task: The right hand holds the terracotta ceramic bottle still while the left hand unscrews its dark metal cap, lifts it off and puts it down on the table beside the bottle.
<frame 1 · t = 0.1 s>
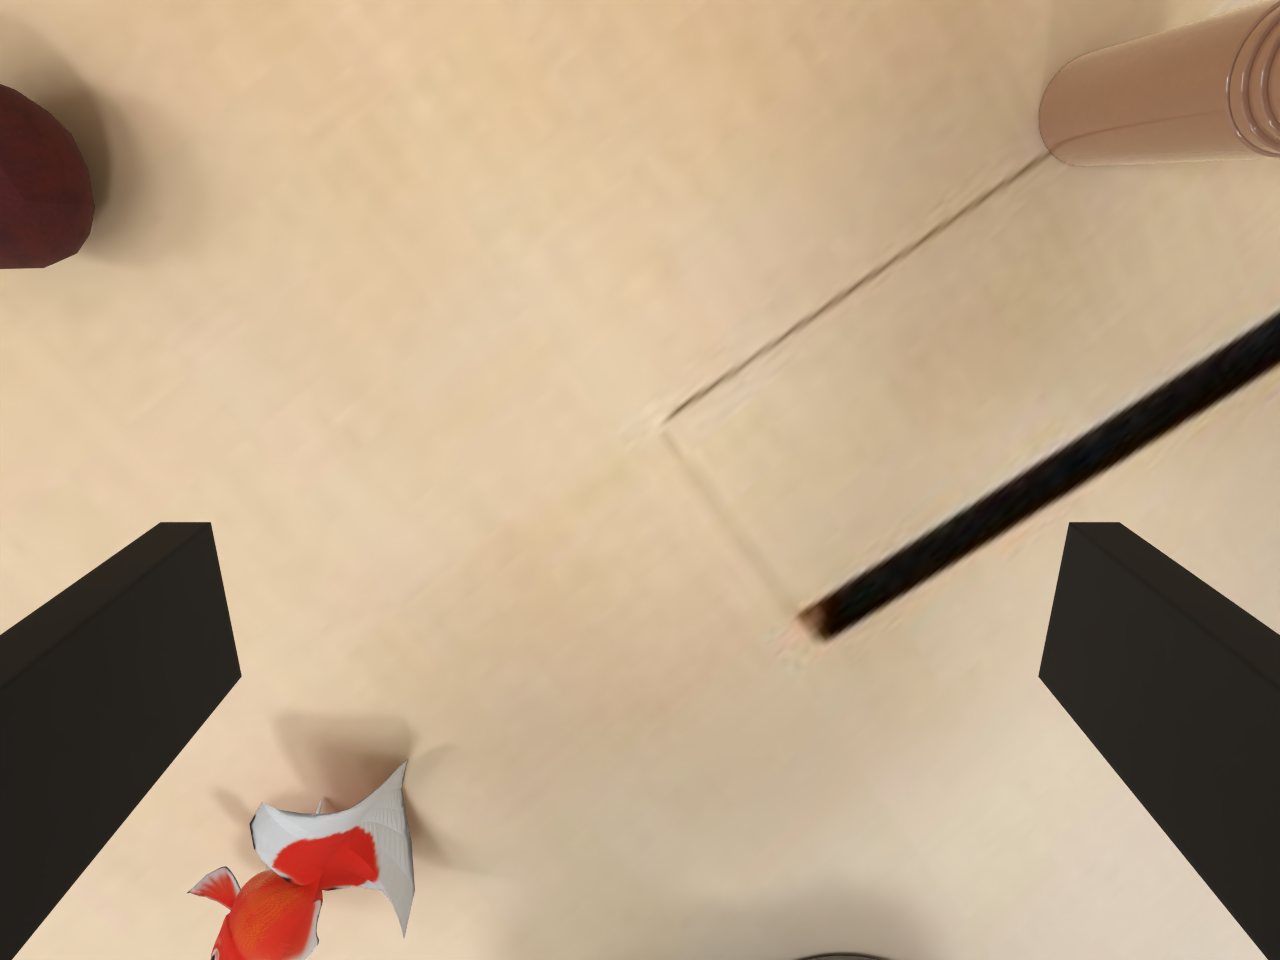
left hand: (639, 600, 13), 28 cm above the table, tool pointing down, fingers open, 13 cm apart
dark red round piece: (50, 179, 37), on the table
bottle: (1091, 110, 36), on the table
fish: (335, 815, 49), on the table
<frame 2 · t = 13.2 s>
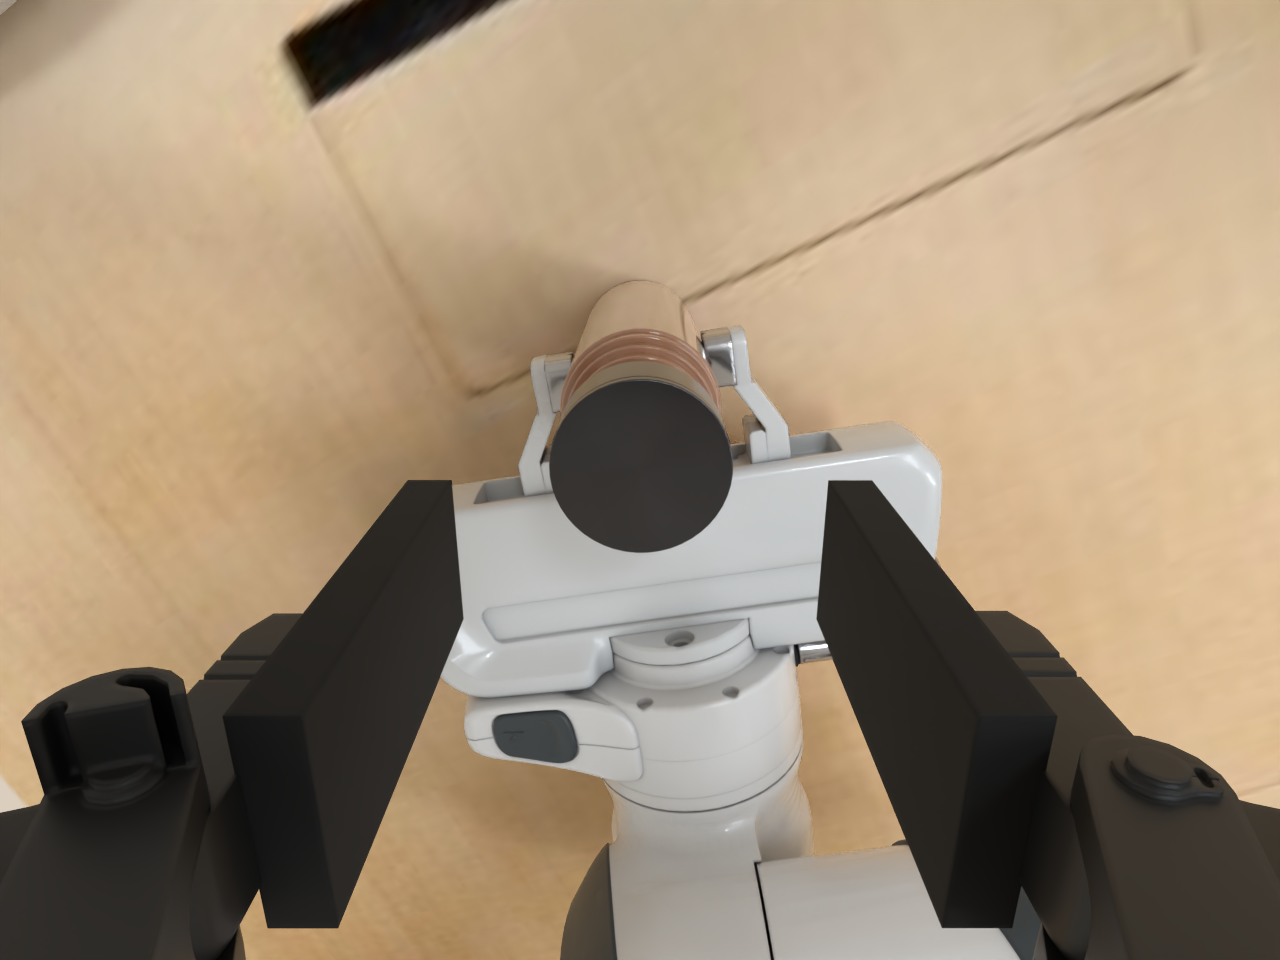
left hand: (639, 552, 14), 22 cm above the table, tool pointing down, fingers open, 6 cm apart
right hand: (635, 343, 28), fingers closed on bottle, 5 cm apart
cap: (641, 465, 19), point 17 cm above the table, screwed on, not yet turned
bottle: (640, 335, 35), on the table, touching right hand
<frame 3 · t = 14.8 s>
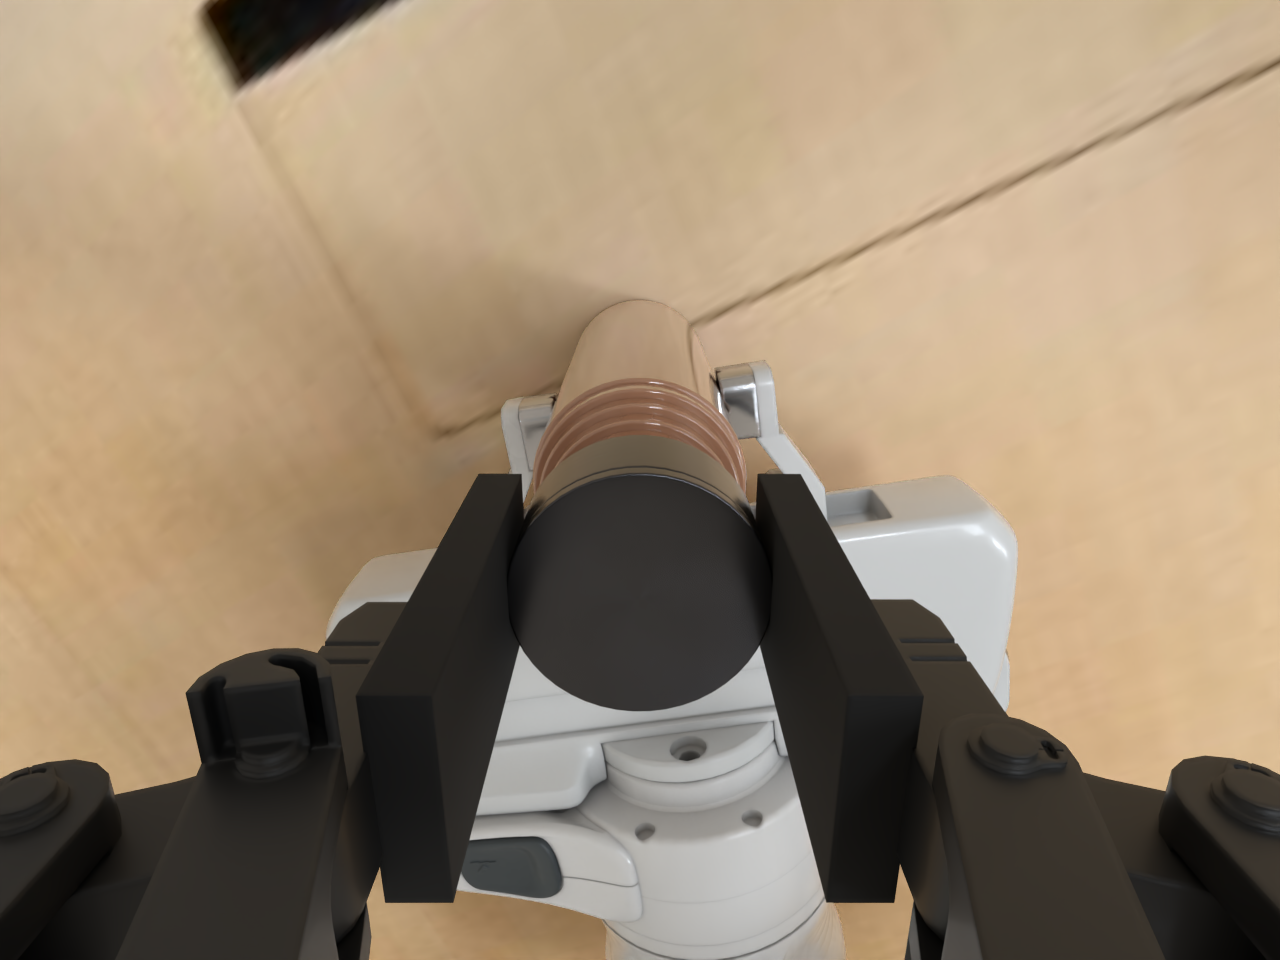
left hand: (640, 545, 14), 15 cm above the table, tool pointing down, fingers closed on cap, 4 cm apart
right hand: (633, 383, 22), fingers closed on bottle, 5 cm apart
cap: (639, 590, 13), point 17 cm above the table, screwed on, not yet turned, touching left hand
bottle: (639, 365, 29), on the table, touching right hand
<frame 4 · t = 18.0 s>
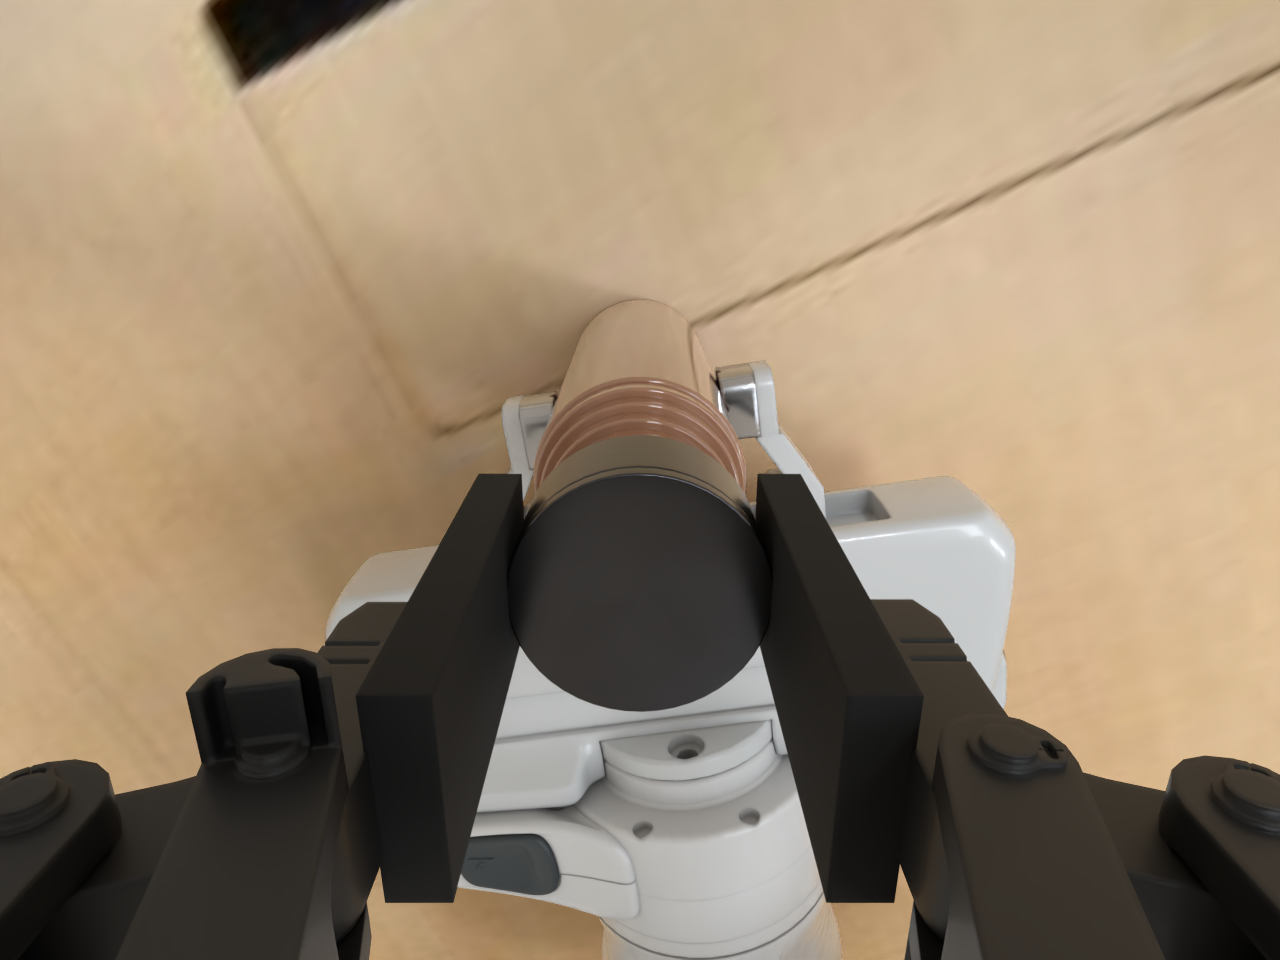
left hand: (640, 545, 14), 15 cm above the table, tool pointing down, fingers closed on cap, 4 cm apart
right hand: (633, 383, 23), fingers closed on bottle, 5 cm apart
cap: (639, 590, 13), point 17 cm above the table, turned 94° so far, risen 0.1 cm, still on its thread, touching left hand
bottle: (639, 364, 29), on the table, touching right hand
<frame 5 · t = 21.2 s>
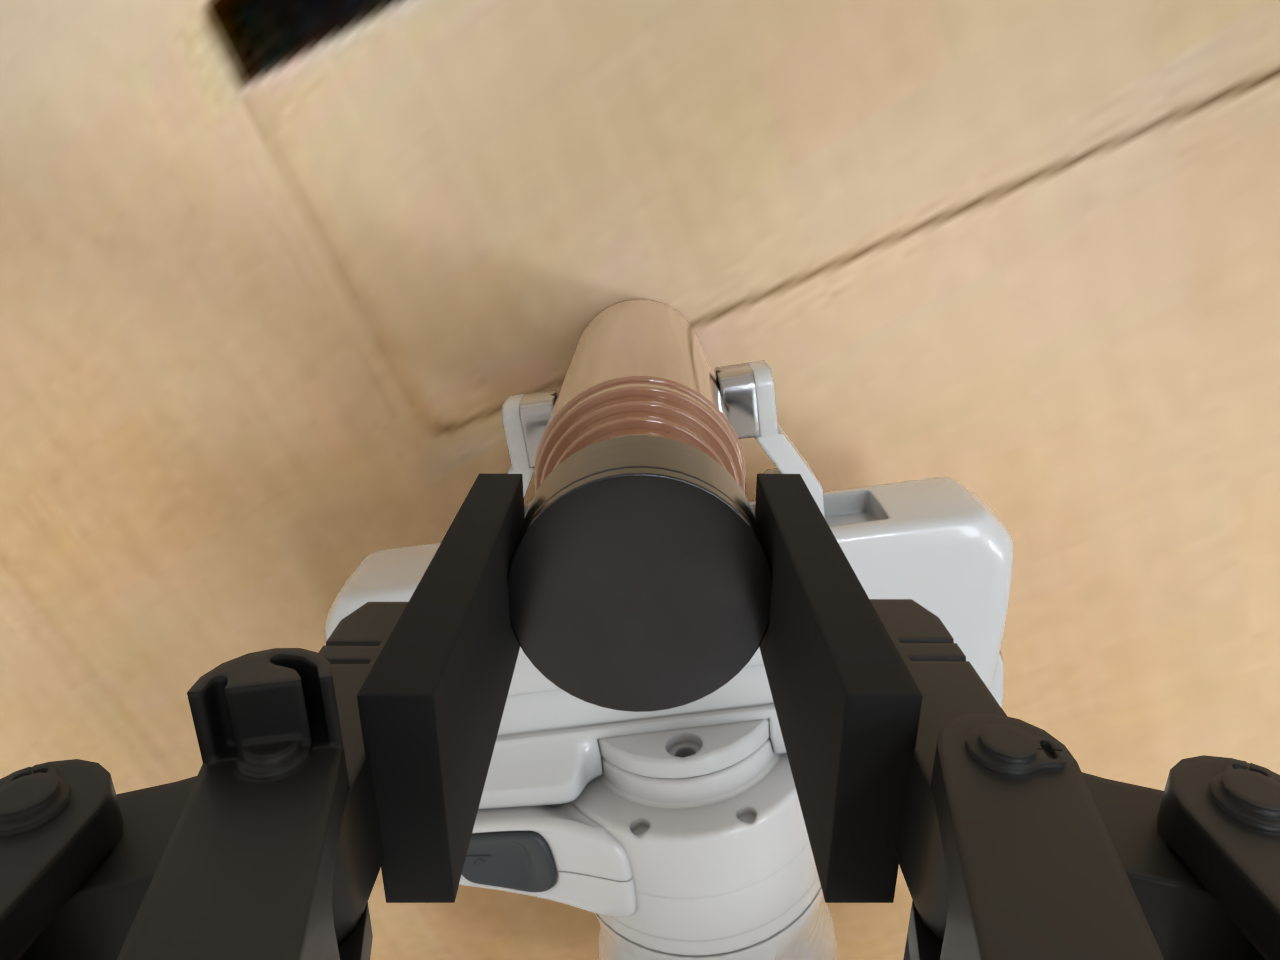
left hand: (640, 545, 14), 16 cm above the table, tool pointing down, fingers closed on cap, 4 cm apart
right hand: (633, 382, 23), fingers closed on bottle, 5 cm apart
cap: (639, 590, 13), point 17 cm above the table, turned 189° so far, risen 0.2 cm, still on its thread, touching left hand
bottle: (639, 364, 29), on the table, touching right hand
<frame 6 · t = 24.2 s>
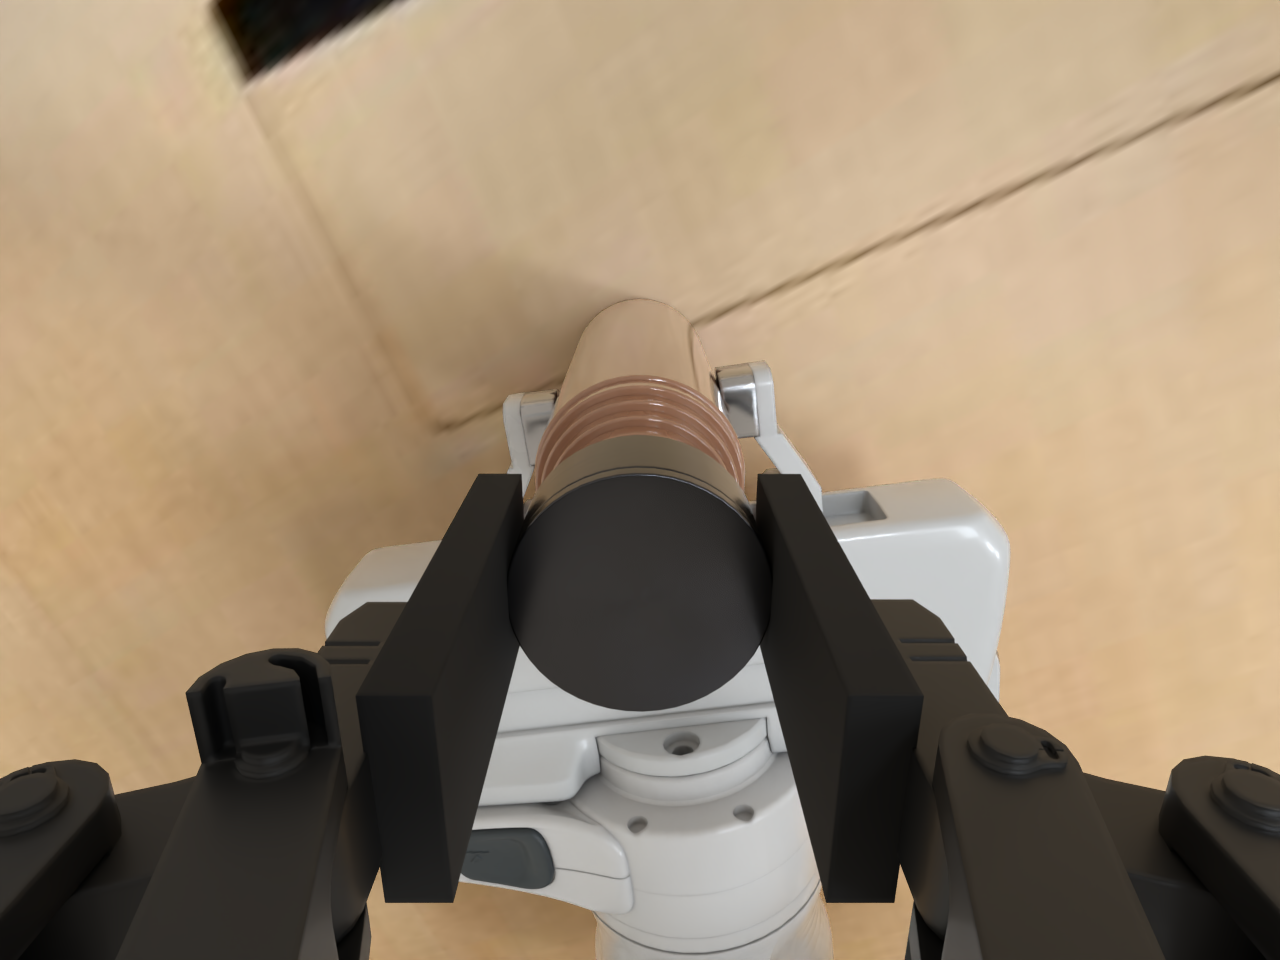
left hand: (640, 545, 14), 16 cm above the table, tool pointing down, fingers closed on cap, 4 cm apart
right hand: (634, 381, 23), fingers closed on bottle, 5 cm apart
cap: (639, 590, 13), point 17 cm above the table, turned 283° so far, risen 0.3 cm, still on its thread, touching left hand
bottle: (639, 363, 29), on the table, touching right hand
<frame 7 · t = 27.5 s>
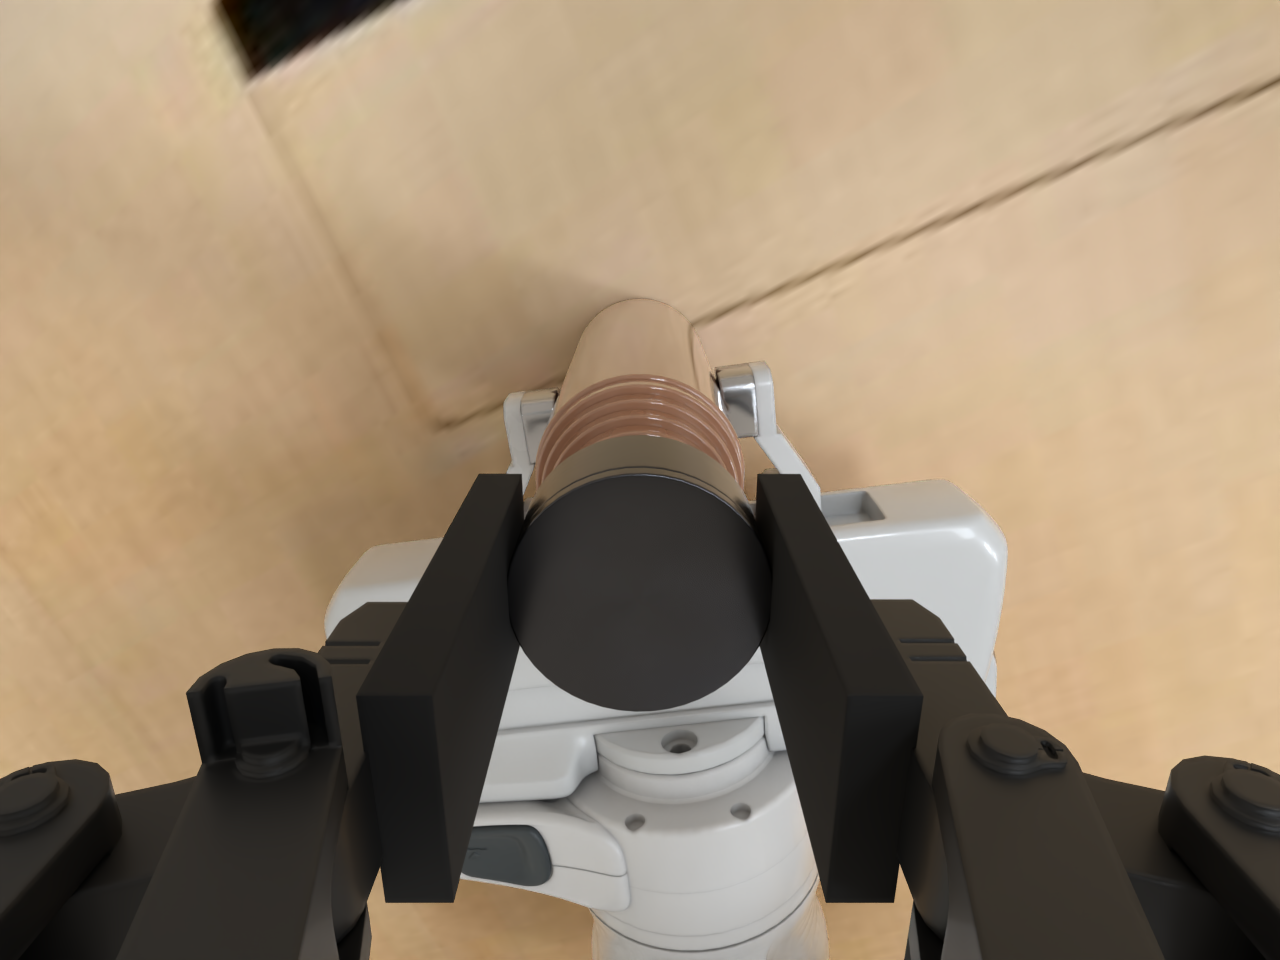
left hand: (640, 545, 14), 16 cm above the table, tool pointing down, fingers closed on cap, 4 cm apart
right hand: (634, 380, 23), fingers closed on bottle, 5 cm apart
cap: (639, 590, 13), point 17 cm above the table, turned 377° so far, risen 0.4 cm, still on its thread, touching left hand
bottle: (639, 363, 29), on the table, touching right hand
when the left hand's fingers open (1 cm above the table, at t = 34.5 s): cap drops 1 cm, point 2 cm above the table.
when the right hand's fingers open (7 cm above the table, at t = 35.8 s): bottle stays where it is, on the table.
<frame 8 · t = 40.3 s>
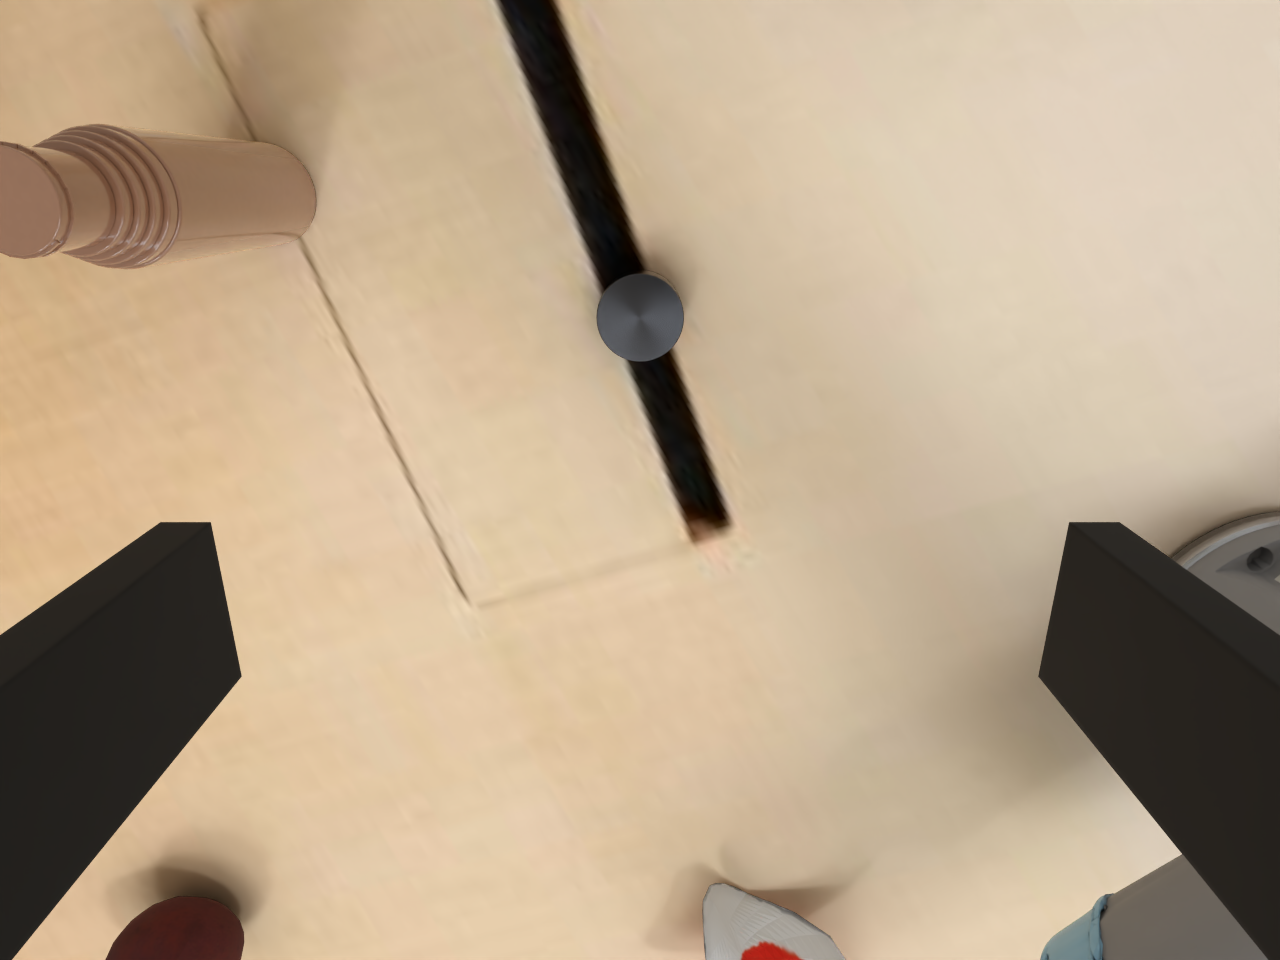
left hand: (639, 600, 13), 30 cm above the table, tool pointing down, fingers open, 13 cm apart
dark red round piece: (207, 909, 54), on the table
cap: (640, 317, 39), point 2 cm above the table, off its thread
bottle: (267, 194, 39), on the table
fish: (755, 943, 55), on the table
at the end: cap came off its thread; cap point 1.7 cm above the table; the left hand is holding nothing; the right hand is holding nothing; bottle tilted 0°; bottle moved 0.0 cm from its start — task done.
